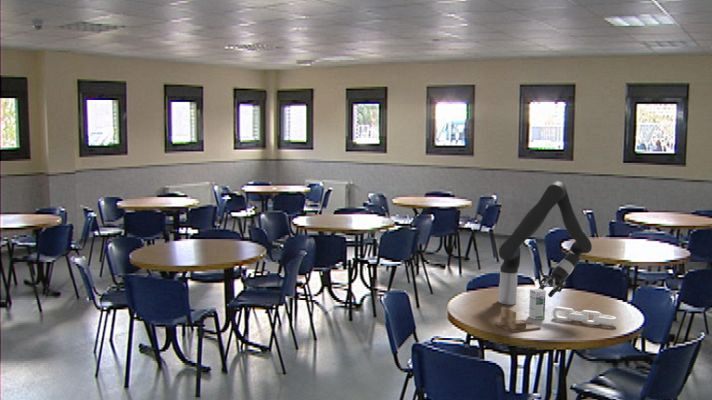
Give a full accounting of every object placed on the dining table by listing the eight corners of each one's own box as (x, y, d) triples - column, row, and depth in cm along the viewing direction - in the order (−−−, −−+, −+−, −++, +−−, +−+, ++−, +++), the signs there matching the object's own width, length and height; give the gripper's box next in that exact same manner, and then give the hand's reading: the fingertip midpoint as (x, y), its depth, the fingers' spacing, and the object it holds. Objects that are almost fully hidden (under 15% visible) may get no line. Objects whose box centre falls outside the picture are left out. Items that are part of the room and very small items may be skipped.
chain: (551, 320, 346) (552, 308, 346) (553, 317, 352) (554, 305, 351) (615, 328, 334) (616, 316, 333) (616, 325, 340) (617, 313, 339)
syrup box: (534, 319, 345) (535, 291, 344) (528, 316, 351) (529, 288, 350) (544, 319, 347) (546, 290, 345) (538, 316, 353) (539, 288, 351)
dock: (495, 324, 336) (495, 306, 335) (522, 321, 342) (523, 303, 341) (512, 332, 323) (513, 313, 322) (540, 329, 329) (541, 310, 328)
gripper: (549, 263, 358) (530, 286, 354) (568, 268, 345) (549, 292, 341) (557, 272, 360) (538, 295, 357) (576, 278, 348) (557, 302, 344)
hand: (543, 294), depth 349 cm, fingers open, 8 cm apart
